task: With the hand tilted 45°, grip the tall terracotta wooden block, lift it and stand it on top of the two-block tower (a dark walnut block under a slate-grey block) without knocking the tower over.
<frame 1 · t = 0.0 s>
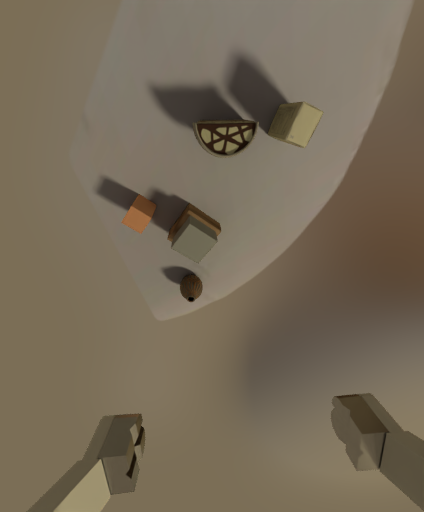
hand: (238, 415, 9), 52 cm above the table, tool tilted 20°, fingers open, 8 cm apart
terracotta block: (143, 207, 58), on the table
food container: (221, 135, 50), on the table
tower base block: (194, 226, 62), on the table, touching tower top block
skincare box: (281, 122, 49), on the table
tower top block: (194, 234, 58), point 5 cm above the table, touching tower base block
vase: (191, 279, 73), on the table
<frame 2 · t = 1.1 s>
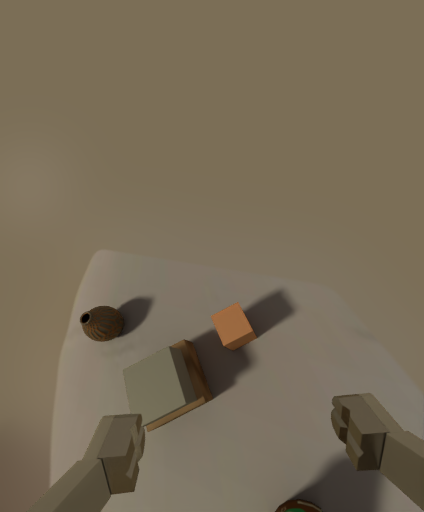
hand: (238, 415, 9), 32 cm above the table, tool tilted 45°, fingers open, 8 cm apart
terracotta block: (238, 331, 42), on the table
tower base block: (178, 381, 41), on the table, touching tower top block
tower top block: (166, 384, 37), point 5 cm above the table, touching tower base block
vase: (115, 326, 49), on the table
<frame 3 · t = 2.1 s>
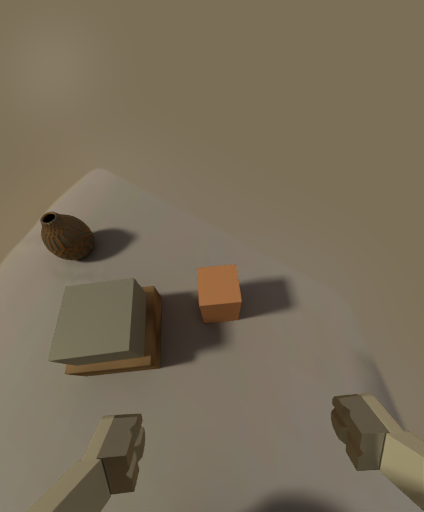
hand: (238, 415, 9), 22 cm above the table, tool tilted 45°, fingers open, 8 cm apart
terracotta block: (219, 305, 34), on the table
tower base block: (127, 334, 33), on the table
tower top block: (114, 327, 29), point 5 cm above the table
vase: (81, 249, 41), on the table
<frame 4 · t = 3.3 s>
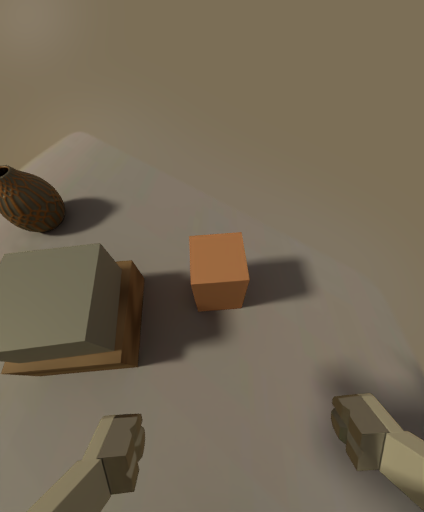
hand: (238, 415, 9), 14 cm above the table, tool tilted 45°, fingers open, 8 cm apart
terracotta block: (217, 289, 27), on the table
tower base block: (98, 323, 26), on the table, touching tower top block
tower top block: (76, 311, 21), point 5 cm above the table, touching tower base block
vase: (50, 221, 33), on the table
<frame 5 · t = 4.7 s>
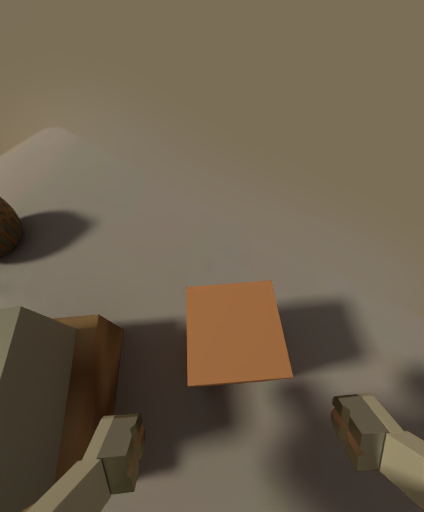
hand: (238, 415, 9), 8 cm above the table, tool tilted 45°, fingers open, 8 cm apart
terracotta block: (228, 349, 19), on the table
tower base block: (52, 402, 17), on the table, touching tower top block
vase: (3, 243, 25), on the table
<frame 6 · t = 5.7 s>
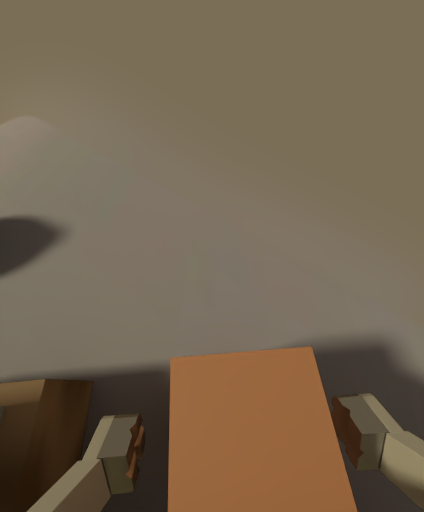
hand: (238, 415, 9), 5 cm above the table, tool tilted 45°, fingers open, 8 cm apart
terracotta block: (235, 413, 14), on the table
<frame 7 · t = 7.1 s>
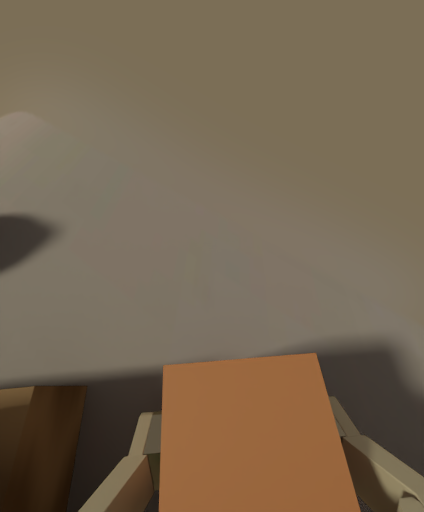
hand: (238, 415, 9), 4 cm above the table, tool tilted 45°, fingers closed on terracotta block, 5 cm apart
terracotta block: (233, 420, 13), on the table, touching gripper
when the fingers open (16 cm above the table, at t = 14.9 s): terracotta block drops 2 cm, point 10 cm above the table.
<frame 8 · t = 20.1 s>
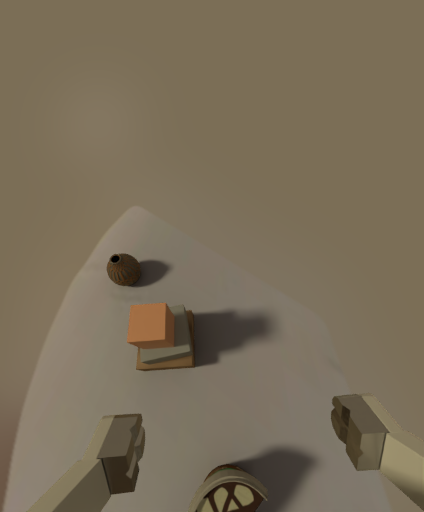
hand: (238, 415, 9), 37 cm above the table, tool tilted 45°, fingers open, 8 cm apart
terracotta block: (159, 332, 38), point 10 cm above the table
food container: (216, 485, 36), on the table
tower base block: (170, 342, 47), on the table, touching tower top block
tower top block: (168, 337, 43), point 5 cm above the table, touching tower base block
vase: (129, 276, 54), on the table
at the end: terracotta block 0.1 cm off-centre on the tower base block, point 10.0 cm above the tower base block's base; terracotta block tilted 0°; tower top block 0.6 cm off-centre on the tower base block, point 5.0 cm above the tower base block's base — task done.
